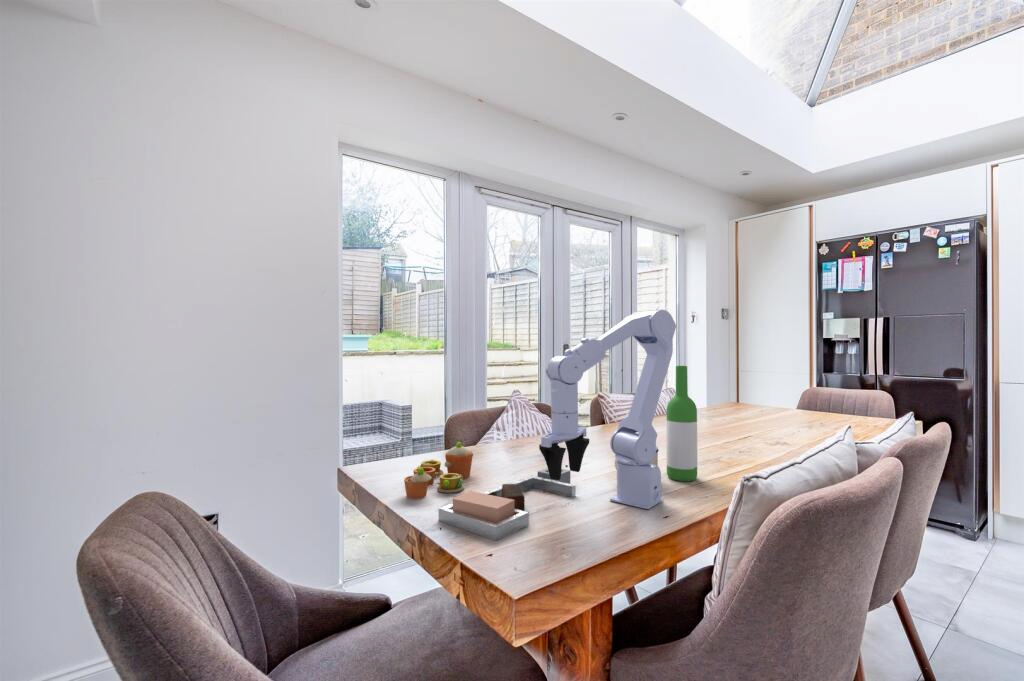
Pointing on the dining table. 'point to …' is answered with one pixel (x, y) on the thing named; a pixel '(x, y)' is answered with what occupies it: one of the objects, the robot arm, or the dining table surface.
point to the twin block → (484, 506)
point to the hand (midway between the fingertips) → (565, 475)
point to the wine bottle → (681, 432)
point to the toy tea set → (441, 473)
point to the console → (564, 478)
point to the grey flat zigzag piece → (509, 524)
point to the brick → (514, 495)
